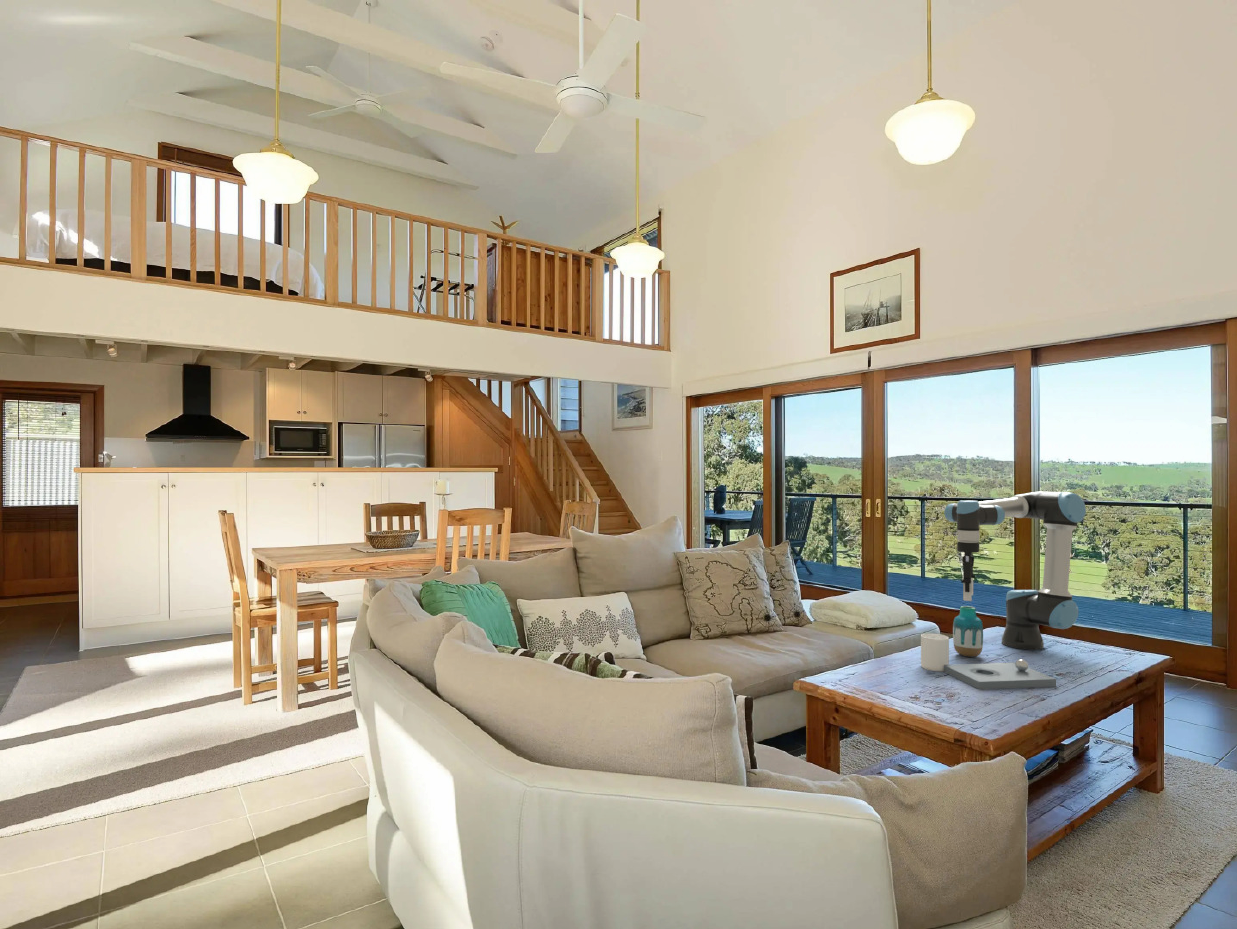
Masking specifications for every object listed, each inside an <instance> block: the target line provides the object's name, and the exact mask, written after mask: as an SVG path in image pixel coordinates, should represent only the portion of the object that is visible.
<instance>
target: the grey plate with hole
mask: <svg viewBox="0 0 1237 929" xmlns="http://www.w3.org/2000/svg"><path fill="white" fill-rule="evenodd" d="M1015 663H1016V662H993V663H992V662H991V663H968V664H967V663H962V664H961V663H960V664H949V665H944V671H943V673H946V675H949V676H952V677H954V678H955V679H957V680H959V681H961V682H963V683H966V684H968V685H969V686H972V687H974V688H975V689H977V690H994V689H995V690H996V689H998V690H999V689H1026V688H1049V687H1050V688H1053V687H1054V688H1055V687H1057V678H1055V677H1053V676H1049V675H1048V674H1045V673H1042V672H1039V671H1037V670H1034V669H1032V668H1030V667H1028V669H1027V670H1026V671H1020V670H1018V669H1017V668H1016V666H1015Z"/></svg>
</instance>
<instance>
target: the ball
mask: <svg viewBox="0 0 1237 929" xmlns="http://www.w3.org/2000/svg"><path fill="white" fill-rule="evenodd" d="M1014 663H1015V666H1016V668H1017V669H1018V670H1020V671H1026V670H1027V669H1028V668H1029V663H1028V662H1027V661H1026V660H1025V659H1021V658H1020V659H1017V660H1016V661H1015V662H1014Z"/></svg>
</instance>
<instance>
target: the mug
mask: <svg viewBox="0 0 1237 929" xmlns="http://www.w3.org/2000/svg"><path fill="white" fill-rule="evenodd" d="M920 665H921V667H922V668H923V669H924V670H927V671H932V672H939V673H940V672H944V665H950V637H949V636H948V635H944V634H940V633H922V634H920Z"/></svg>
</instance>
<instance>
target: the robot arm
mask: <svg viewBox="0 0 1237 929" xmlns="http://www.w3.org/2000/svg"><path fill="white" fill-rule="evenodd" d="M1086 514H1087V509H1086V504H1085V501H1084V500H1083V498H1082V497H1081V496H1080V495H1079V494H1077V493H1074V492H1069V491H1034V492H1033V491H1032V492H1027V493H1021V494H1015V495H1013V496H1011V497H1009V498H1002V499H993V500H983V501H982V500H981V501H978V500H958V502H957V503H956V502H955V503H948V504H947V505H946V506H945V508H944V518H945V519H946V521H948V522H950V523H956V532H955V533H954V534H955V535H957V537H956V540H957V542H956V551H957V552H959V553H963V554H964V555H963V556H961V562H962V568H963V571H962V573H963V576H962V577H963V579H962V580H961V581H960V582H961V584H963V587H962V589H963V590H962V592H963V593H962V596H963V598H962V599H963V600H962V601H966V602H972V600H973V599H972V596H974V579H975V578H976V575H975V574H974V565H975V564H974V562H975V556H974V555H973V553H974V554H977V553H979V552H980V526H995V525H996V526H997V525H1000V524H1002V523H1003V522H1004V521H1005V518H1010V517H1014V518H1018V519H1022V518H1023V519H1024V518H1025V519H1035V520H1042V525H1043V526H1044V527H1045V528H1046V536H1045V537H1046V538H1045V553H1044V563H1043V564H1044V566H1043V581H1042V587H1041V588H1040V589H1039V590H1037V589H1011V590H1008V591H1007V593H1006V596H1005V597H1006V598H1005V605H1006V606H1005V612H1006V613H1005V614H1006V615H1005V616H1006V618H1005V619H1006V621H1005V622H1006V624H1005V628H1004V630H1003V633H1002V634H1003V635H1002V636H1001V644H1003V645H1004V646H1007V647H1010V648H1013V649H1020V650H1033V651H1034V650H1036V651H1037V650H1043V649H1044V648H1045V645H1044V644H1045V642H1044V640H1043V636H1042V634H1041V630H1040V628H1039V627H1040V625H1041V626H1046V627H1050V628H1053V629H1060V630H1065V629H1066V630H1067V629H1069V628H1071V627H1072V626H1073V625H1074V624H1075V623H1076V621H1077V620H1078V617H1079V607H1078V604H1077V603H1076V601H1073V595H1072V594H1071V593H1070V592H1069V582H1070V581H1069V580H1070V570H1071V568H1070V567H1071V554H1072V541H1073V540H1072V539H1073V531H1074V530H1076V528H1078V523H1081V522H1082V521H1084V518H1085V516H1086Z"/></svg>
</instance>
